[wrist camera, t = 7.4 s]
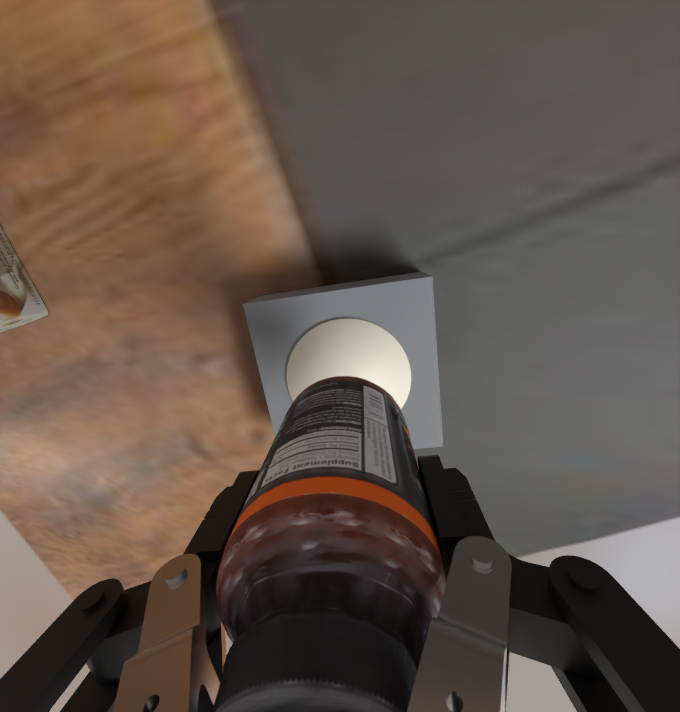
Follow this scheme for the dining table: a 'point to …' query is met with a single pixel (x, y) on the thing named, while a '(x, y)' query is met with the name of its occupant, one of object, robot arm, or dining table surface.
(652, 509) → the dining table surface
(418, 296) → the base block
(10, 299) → the coffee box
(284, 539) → the supplement bottle
